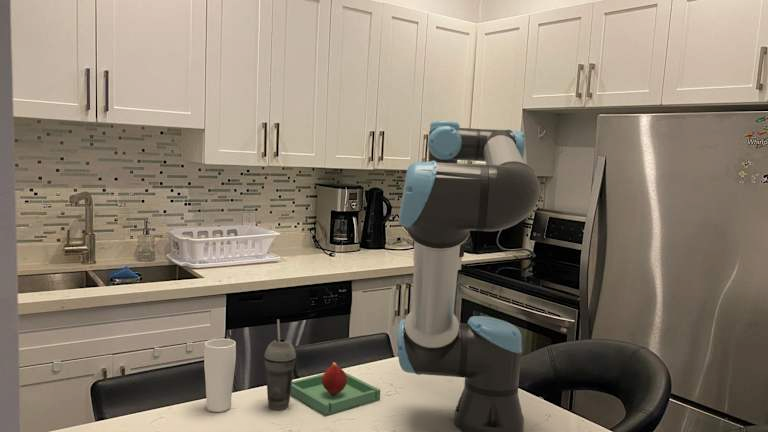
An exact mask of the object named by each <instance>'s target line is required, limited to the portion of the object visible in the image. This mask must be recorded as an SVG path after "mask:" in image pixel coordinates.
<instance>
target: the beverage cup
mask: <svg viewBox="0 0 768 432" xmlns="http://www.w3.org/2000/svg"><path fill="white" fill-rule="evenodd" d="M276 323H277V339H274V340H272V341H271V342H270V343H269V344H268V346H267V347H266V350H265V352H264V356H263V359H264V366H265V372H266V391H267V393H266V394H267V404H268V405H267V406H268V408H269V410H272V411H276V412H277V411H278V412H279V411H285V410H287V409H288V408H289V404H290V401H291V400H290V399H291V395H290V393H291V385H292V381H293V376H294V375H293V374H294V368H295V364H296V360H297V353H296V349H295V347H294V345H293V344H292V342H290V341H289V340H288V339H285V338H281V326H280V319H276Z"/></svg>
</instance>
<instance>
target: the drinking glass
mask: <svg viewBox="0 0 768 432" xmlns="http://www.w3.org/2000/svg"><path fill="white" fill-rule="evenodd" d="M236 349H237V344H236V341H235V340H233V339H230V338H212V339H209V340H207V341H205V343H204V349H203V350H204V354H203V355H204V357H203V358H204V359H203V361H204V363H203V364H204V365H203V367H204V379H205V380H204V381H205V396H206V402H205V403H206V409H207V411H209V412H213V413H222V412H226V411H228V410H229V409H230V408H231V406H232V395H233V387H234V377H235V370H236V359H237V350H236Z"/></svg>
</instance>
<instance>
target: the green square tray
mask: <svg viewBox="0 0 768 432" xmlns="http://www.w3.org/2000/svg"><path fill="white" fill-rule="evenodd" d="M345 374H346V377H347V382H346V386H345V388H344V389H343V390H342V391H341V392H339V393H338V394H336V395H334V396H333V395H331V394H330V393H329V392H328V391H327V390H326V389H325V388H324V386H323V384H322V378H323V375H324V373H322V374H318V375H314V376H309V377H305V378H302V379H298V380H292V385H291V393H290V397H292V398H294V399H296V400H297V401H299V402H300V403H303V404H304V405H306V406H307V407H309V408H311V409H312V410H314V411H315V412H318V414H319V413H320V415H322V416H324V417H328V416H330V415H334V414H339V413H341V412H344V411H345V412H346V411H347V410H352V409H354V408H357V407H361V406H365V405H368V404H371V403H376V402H377V401H380V400H381V389H380V388H378V387H375V386H374V385H371V384H370V383H367V382H365V381H363V380H361V379H359V378H358V377H357V378H356V377H355V376H352V375H351V374H349V373H347V372H345Z"/></svg>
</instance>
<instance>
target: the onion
mask: <svg viewBox="0 0 768 432" xmlns="http://www.w3.org/2000/svg"><path fill="white" fill-rule="evenodd" d="M345 373H346V372H345V371H344V370H343V368H341V367H340V366H339V365H338V364H337V363H336V362H332V364H331V366H330V367H329V368H327V369H325V372H324V373H323V374H324V375H323V378H322V384H323V386H324V388H325V389H326V390H327V391H328V392H329V393H330V394H331V395H333V396H334V395H336V394H338V393H339V392H341V391H342V390H343V389H344V388H345V386H346V382H347V377H346V374H345Z"/></svg>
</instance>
